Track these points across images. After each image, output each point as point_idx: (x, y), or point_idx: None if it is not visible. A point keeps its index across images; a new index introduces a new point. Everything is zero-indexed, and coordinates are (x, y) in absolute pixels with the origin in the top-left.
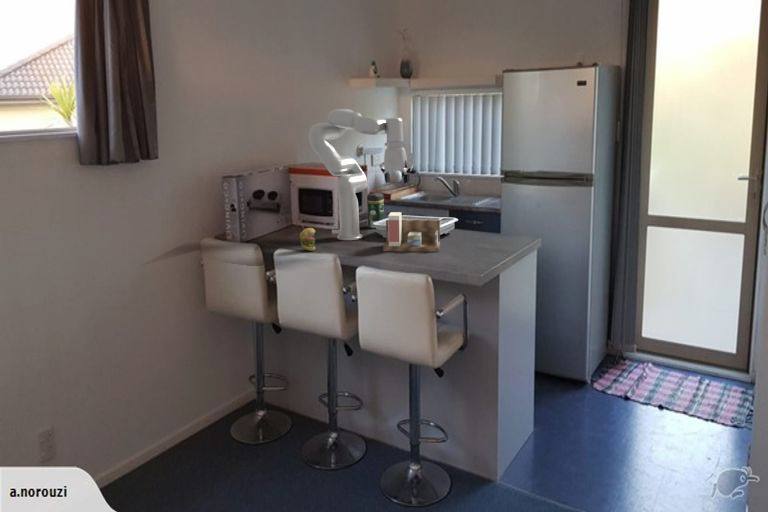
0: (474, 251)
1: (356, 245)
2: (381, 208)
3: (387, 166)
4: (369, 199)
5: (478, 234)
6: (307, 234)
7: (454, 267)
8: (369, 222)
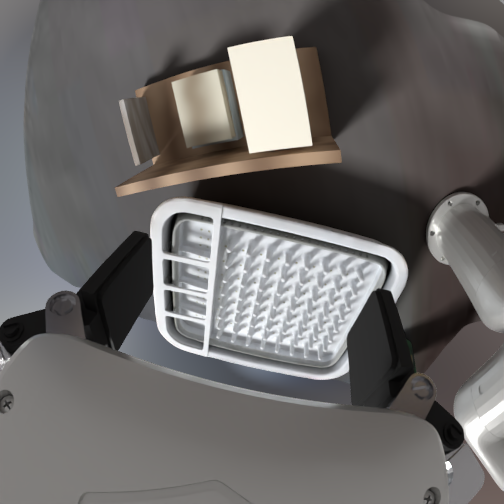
0: (74, 130)
1: (427, 125)
2: None
3: (390, 480)
4: None
5: None
6: None
7: None
8: (410, 349)
